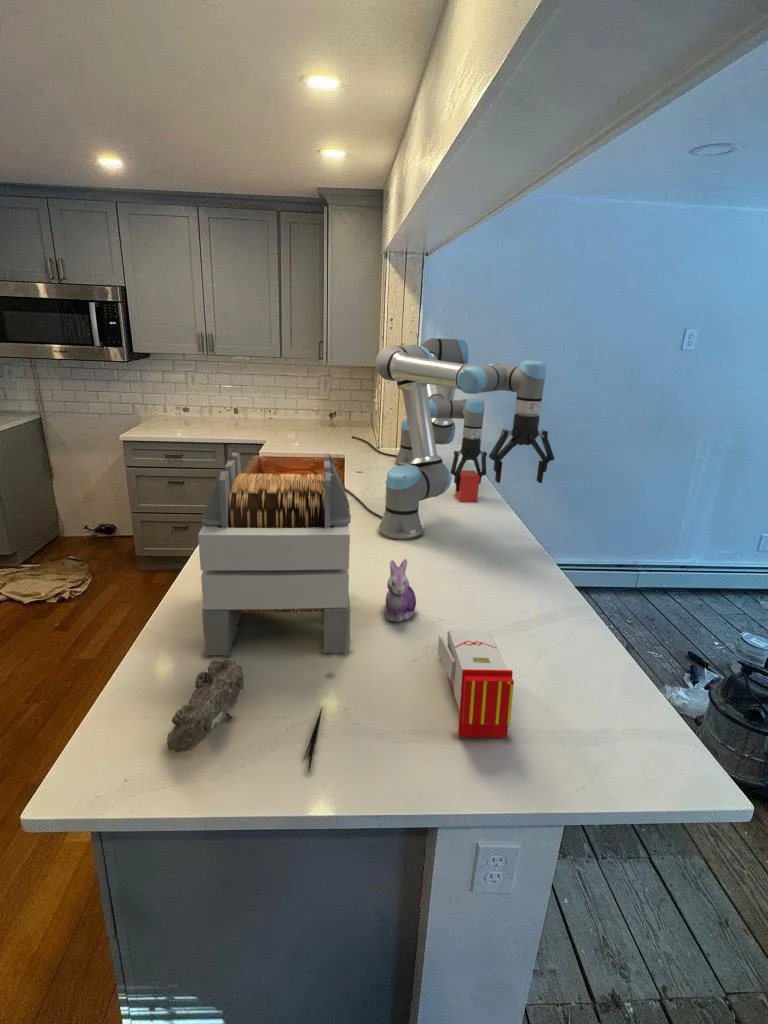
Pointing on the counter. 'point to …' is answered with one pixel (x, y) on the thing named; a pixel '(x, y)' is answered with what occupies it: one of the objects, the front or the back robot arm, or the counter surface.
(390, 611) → the figurine
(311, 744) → the feather
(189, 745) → the grey elongated lump
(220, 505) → the record crate stand
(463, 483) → the block
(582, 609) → the counter surface
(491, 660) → the toy
